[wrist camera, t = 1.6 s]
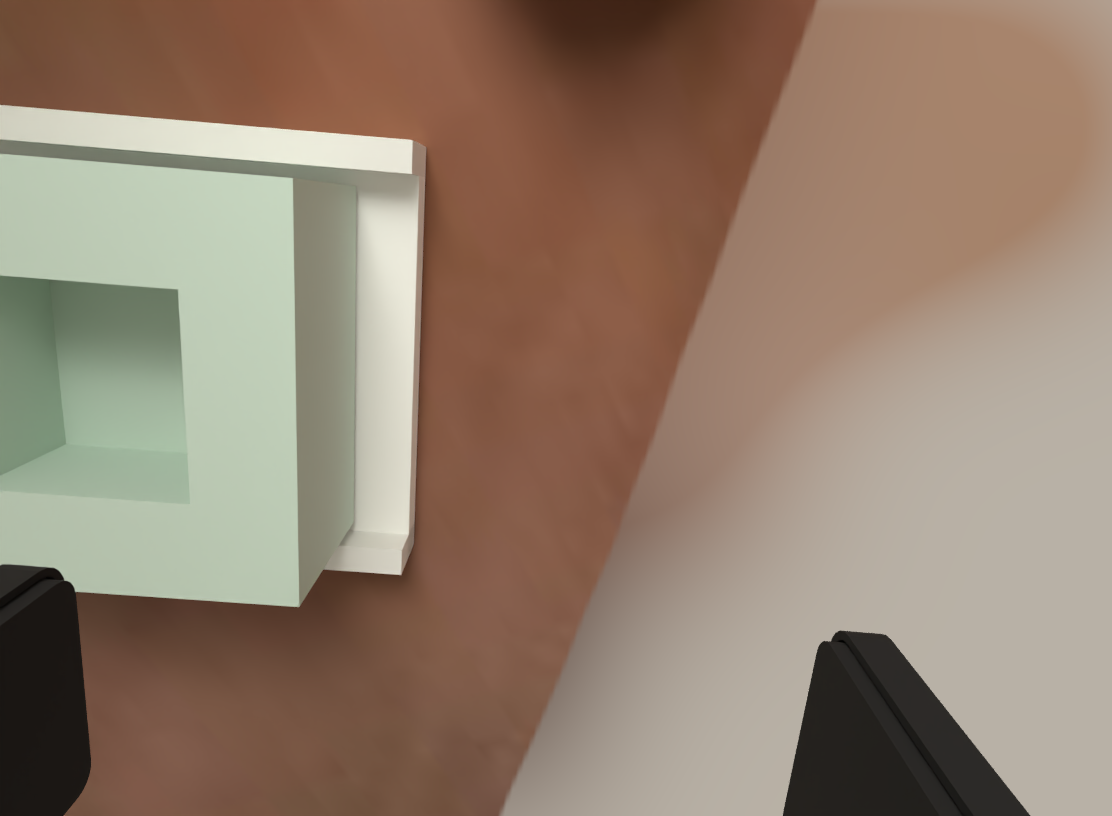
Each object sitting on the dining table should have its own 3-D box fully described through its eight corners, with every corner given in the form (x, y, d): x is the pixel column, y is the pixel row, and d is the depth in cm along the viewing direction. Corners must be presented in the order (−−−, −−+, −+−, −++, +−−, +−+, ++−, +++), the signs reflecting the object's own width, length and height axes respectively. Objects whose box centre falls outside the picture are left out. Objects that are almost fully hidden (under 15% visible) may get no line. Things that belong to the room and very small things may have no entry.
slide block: (-15, 155, 23) (-201, 136, 18) (356, 186, 24) (292, 178, 18) (26, 498, 27) (-120, 578, 21) (353, 521, 27) (299, 607, 21)
